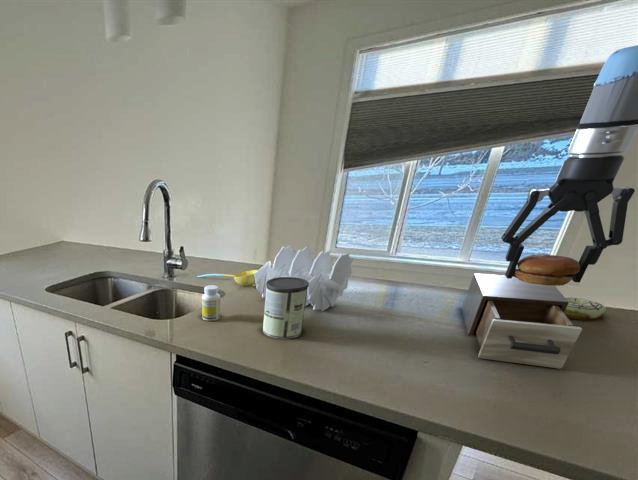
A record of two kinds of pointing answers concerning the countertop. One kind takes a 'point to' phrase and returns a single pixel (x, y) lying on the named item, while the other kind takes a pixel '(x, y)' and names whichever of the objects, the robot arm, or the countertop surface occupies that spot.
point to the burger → (546, 269)
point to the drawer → (525, 333)
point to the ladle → (239, 277)
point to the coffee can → (284, 307)
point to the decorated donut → (583, 309)
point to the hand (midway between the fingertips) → (540, 278)
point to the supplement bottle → (211, 303)
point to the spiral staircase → (309, 274)
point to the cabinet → (505, 295)
